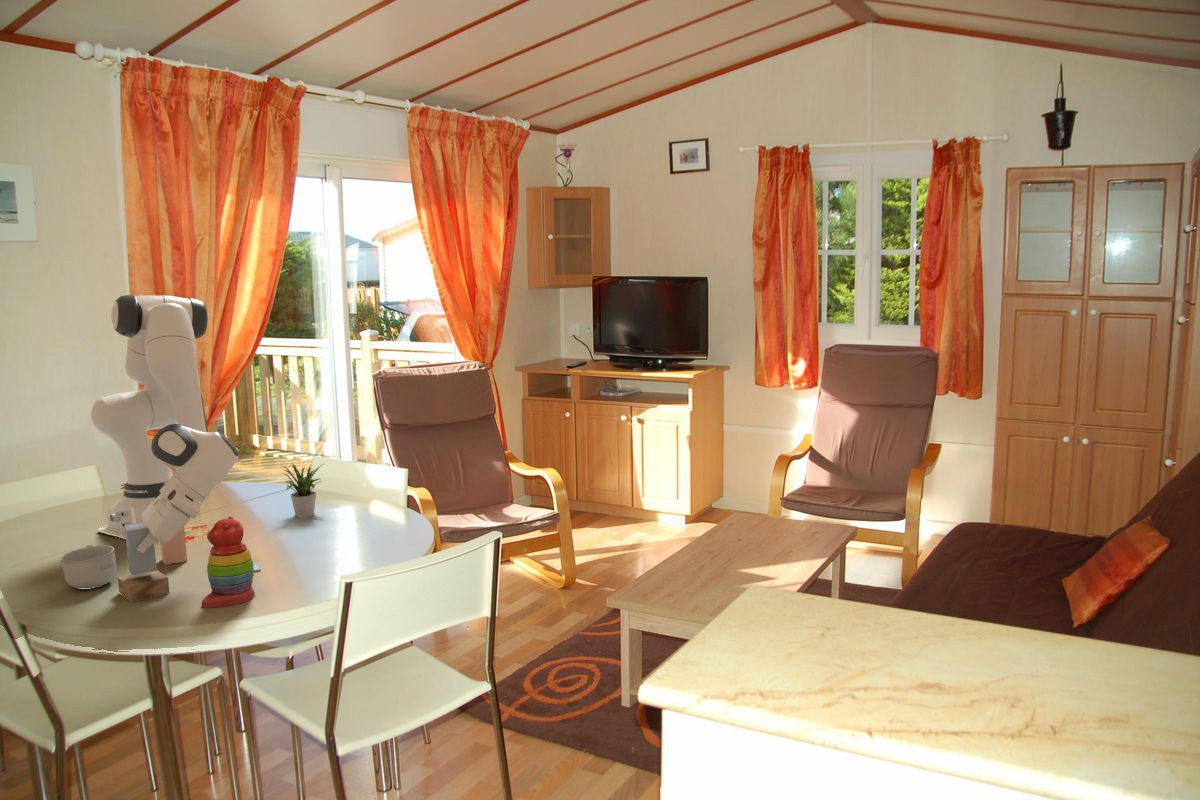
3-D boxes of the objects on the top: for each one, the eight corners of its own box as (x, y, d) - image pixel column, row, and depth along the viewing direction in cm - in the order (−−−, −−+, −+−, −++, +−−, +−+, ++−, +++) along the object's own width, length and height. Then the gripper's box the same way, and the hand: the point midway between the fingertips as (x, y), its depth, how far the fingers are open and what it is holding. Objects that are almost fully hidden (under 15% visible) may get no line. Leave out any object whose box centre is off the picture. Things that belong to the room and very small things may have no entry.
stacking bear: (215, 590, 208) (208, 513, 205) (261, 588, 208) (256, 511, 206) (198, 608, 197) (191, 527, 194) (247, 606, 198) (241, 525, 195)
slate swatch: (234, 575, 217) (234, 574, 217) (228, 568, 222) (228, 567, 222) (260, 570, 220) (260, 569, 220) (254, 564, 225) (254, 562, 225)
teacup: (112, 590, 209) (108, 556, 208) (58, 596, 206) (54, 561, 205) (124, 571, 222) (121, 539, 221) (74, 576, 219) (70, 543, 218)
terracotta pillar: (165, 565, 226) (161, 525, 225) (161, 559, 230) (158, 520, 229) (187, 561, 229) (183, 521, 227) (183, 556, 233) (180, 517, 231)
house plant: (265, 521, 263) (261, 465, 261) (287, 508, 277) (283, 454, 274) (313, 522, 261) (309, 465, 259) (333, 509, 275) (329, 455, 273)
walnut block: (131, 603, 201) (129, 586, 201) (119, 594, 207) (117, 577, 206) (169, 594, 207) (168, 577, 206) (156, 585, 212) (155, 568, 212)
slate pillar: (131, 575, 203) (127, 530, 201) (128, 569, 207) (124, 525, 205) (156, 570, 205) (152, 526, 204) (153, 564, 209) (149, 521, 208)
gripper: (162, 480, 216) (119, 528, 212) (176, 497, 199) (130, 550, 195) (184, 495, 219) (142, 543, 215) (200, 514, 202) (155, 566, 198)
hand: (137, 547), depth 205 cm, fingers closed on slate pillar, 5 cm apart
